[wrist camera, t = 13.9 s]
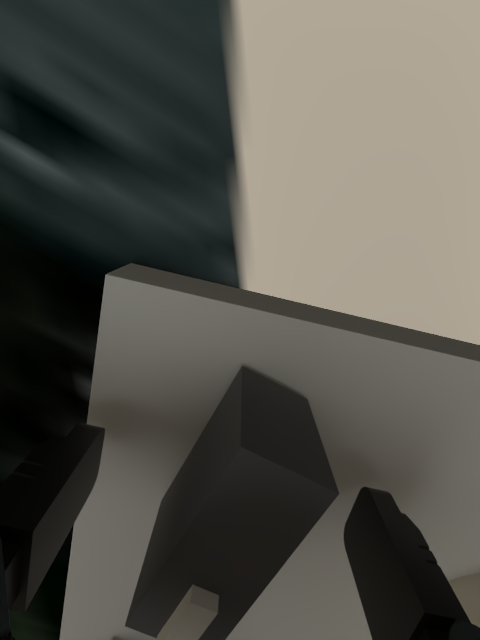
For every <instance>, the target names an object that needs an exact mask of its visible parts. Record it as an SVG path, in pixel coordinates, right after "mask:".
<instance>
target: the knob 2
mask: <svg viewBox="0 0 480 640" xmlns="http://www.w3.org/2000/svg"><path fill="white" fill-rule="evenodd" d="M338 495H339V491H338V488H337V485H336V482H335V479H334V476H333V473H332V470H331V467H330V464H329V461H328V458H327V455H326V452H325V449H324V446H323V444H322V441H321V438H320V435H319V432H318V429H317V426H316V423H315V420H314V417H313V414H312V411H311V408H310V405H309V402H308V399H307V398H305V397H303V396H301V395H299V394H297V393H295V392H293V391H291V390H289V389H287V388H285V387H283V386H281V385H279V384H277V383H275V382H273V381H271V380H269V379H267V378H265V377H263V376H262V375H260V374H258V373H256V372H254V371H252V370H250V369H248V368H246V367H244V366H242V367H241V368H240V370H239V372H238V373H237V375H236V377H235V378H234V380H233V382H232V383H231V385H230V387H229V388H228V390H227V392H226V393H225V395H224V397H223V398H222V400H221V402H220V403H219V405H218V407H217V408H216V410H215V412H214V413H213V415H212V417H211V418H210V420H209V422H208V423H207V425H206V427H205V428H204V430H203V432H202V433H201V435H200V437H199V438H198V440H197V442H196V443H195V445H194V447H193V448H192V450H191V452H190V453H189V455H188V457H187V458H186V460H185V462H184V463H183V465H182V467H181V468H180V470H179V472H178V473H177V475H176V477H175V478H174V480H173V482H172V483H171V485H170V487H169V489H168V490H167V492H166V494H165V495H164V497H163V499H162V500H161V503H160V507H159V510H158V514H157V517H156V520H155V524H154V527H153V531H152V534H151V538H150V541H149V544H148V548H147V551H146V555H145V558H144V562H143V565H142V568H141V572H140V575H139V579H138V582H137V585H136V589H135V592H134V596H133V599H132V603H131V606H130V609H129V613H128V616H127V620H126V623H125V627H128V628H131V629H133V630H136V631H139V632H141V633H144V634H146V635H149V636H152V637H154V638H157V640H226V638H227V637H228V636H229V634H230V633H231V632H232V631H233V629H234V628H235V627H236V625H237V624H238V623H239V622H240V620H241V619H242V618H243V617H244V615H245V614H246V613H247V611H248V610H249V609H250V608H251V606H252V605H253V604H254V602H255V601H256V600H257V599H258V597H259V596H260V595H261V593H262V592H263V591H264V590H265V588H266V587H267V586H268V584H269V583H270V582H271V581H272V579H273V578H274V577H275V576H276V574H277V573H278V572H279V570H280V569H281V568H282V567H283V565H284V564H285V563H286V561H287V560H288V559H289V558H290V556H291V555H292V554H293V552H294V551H295V550H296V549H297V547H298V546H299V545H300V544H301V542H302V541H303V540H304V538H305V537H306V536H307V535H308V533H309V532H310V531H311V529H312V528H313V527H314V526H315V524H316V523H317V522H318V520H319V519H320V518H321V517H322V515H323V514H324V513H325V512H326V510H327V509H328V508H329V506H330V505H331V504H332V503H333V501H334V500H335V499H336V497H337V496H338Z"/></svg>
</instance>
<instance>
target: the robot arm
mask: <svg viewBox="0 0 480 640" xmlns="http://www.w3.org/2000/svg"><path fill="white" fill-rule="evenodd" d="M104 436H105V428H102V427H98V426H93V425H89V424H84V423H78V424H77V425H76V426H75V427H74V428H73V429H72V431H71V432H70V433H69V435H68V436H67V437H66V438H61V437H56V436H53V437H52V438H50V439H48V440H46V441H44V442H43V443H41V444H39V445H37V446H36V447H35V448H34V449H33V450H32V451H31V453H30V454H29V455H28V456H27V457H26V458H25V459H24V462H23V463H21V464H20V465H19V466H18V467H17V468H16V469H15V470H14V472H13V474H11V475H10V476H9V477H8V478H7V479H6V480H5V482H4V483H3V484H2V485H1V486H0V640H15V638H14V637H12V636H11V630H10V621H9V610H10V609H11V610H16V611H22V612H25V611H26V609H27V608H28V606H29V604H30V602H31V600H32V598H33V597H34V595H35V593H36V591H37V589H38V588H39V586H40V584H41V582H42V580H43V579H44V577H45V575H46V573H47V571H48V569H49V568H50V566H51V564H52V562H53V560H54V559H55V557H56V555H57V553H58V551H59V550H60V548H61V546H62V544H63V542H64V541H65V539H66V537H67V535H68V533H69V531H70V530H71V528H72V526H73V524H74V522H75V521H76V519H77V517H78V515H79V513H80V512H81V510H82V508H83V506H84V504H85V503H86V501H87V499H88V497H89V495H90V493H91V491H92V489H93V487H94V485H95V482H96V479H97V476H98V472H99V467H100V461H101V454H102V448H103V442H104ZM344 546H345V550H346V553H347V557H348V560H349V563H350V567H351V570H352V573H353V577H354V580H355V583H356V587H357V590H358V593H359V597H360V600H361V603H362V607H363V610H364V613H365V617H366V620H367V623H368V627H369V630H370V634H371V637H372V640H480V627H478V626H476V625H474V624H472V623H471V622H470V620H469V618H468V616H467V614H466V613H465V611H464V609H463V607H462V605H461V604H460V602H459V600H458V598H457V596H456V594H455V593H454V591H453V589H452V587H451V585H450V584H449V582H448V580H447V578H446V576H445V575H444V573H443V571H442V569H441V567H440V566H438V565H437V560H436V558H435V556H434V555H433V553H432V551H430V550H429V546H428V544H427V542H426V540H425V538H424V537H423V535H422V533H421V531H420V530H419V528H418V527H417V526H416V525H415V524H414V523H413V522H412V521H411V520H410V519H409V517H408V516H407V515H406V514H404V513H401V512H400V510H399V508H398V506H397V504H396V502H395V500H394V498H393V497H392V495H391V494H390V493H389V492H387V491H383V490H378V489H374V488H369V487H362V488H361V489H360V491H359V493H358V496H357V498H356V500H355V503H354V505H353V507H352V509H351V512H350V514H349V516H348V519H347V521H346V524H345V527H344Z"/></svg>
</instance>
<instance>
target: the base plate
mask: <svg viewBox="0 0 480 640" xmlns="http://www.w3.org/2000/svg"><path fill="white" fill-rule="evenodd" d="M242 366H244V367H246V368H248V369H250V370H252V371H254V372H256V373H258V374H260V375H262V376H263V377H265V378H267V379H269V380H271V381H273V382H275V383H277V384H279V385H281V386H283V387H285V388H287V389H289V390H291V391H293V392H295V393H297V394H299V395H301V396H303V397H305V398H307V399H308V402H309V405H310V408H311V411H312V414H313V417H314V420H315V423H316V426H317V429H318V432H319V435H320V438H321V441H322V444H323V446H324V449H325V452H326V455H327V458H328V461H329V464H330V467H331V470H332V473H333V476H334V479H335V482H336V485H337V488H338V491H339V495H338V496H337V497H336V499H335V500H334V501H333V503H332V504H331V505H330V506H329V508H328V509H327V510H326V512H325V513H324V514H323V515H322V517H321V518H320V519H319V520H318V522H317V523H316V524H315V526H314V527H313V528H312V529H311V531H310V532H309V533H308V535H307V536H306V537H305V538H304V540H303V541H302V542H301V544H300V545H299V546H298V547H297V549H296V550H295V551H294V552H293V554H292V555H291V556H290V558H289V559H288V560H287V561H286V563H285V564H284V565H283V567H282V568H281V569H280V570H279V572H278V573H277V574H276V576H275V577H274V578H273V579H272V581H271V582H270V583H269V584H268V586H267V587H266V588H265V590H264V591H263V592H262V593H261V595H260V596H259V597H258V599H257V600H256V601H255V602H254V604H253V605H252V606H251V608H250V609H249V610H248V611H247V613H246V614H245V615H244V617H243V618H242V619H241V620H240V622H239V623H238V624H237V625H236V627H235V628H234V629H233V631H232V632H231V633H230V634H229V636H228V637H227V638H226V640H372V637H371V634H370V630H369V627H368V623H367V620H366V617H365V613H364V610H363V607H362V603H361V600H360V597H359V593H358V590H357V587H356V583H355V580H354V577H353V573H352V570H351V567H350V563H349V560H348V557H347V553H346V550H345V546H344V527H345V524H346V521H347V519H348V516H349V514H350V512H351V509H352V507H353V505H354V503H355V500H356V498H357V496H358V493H359V491H360V489H361V488H362V487H369V488H374V489H378V490H383V491H387V492H389V493H390V494H391V495H392V497H393V498H394V500H395V502H396V504H397V506H398V508H399V510H400V512H401V513H404V514H406V515H407V516H408V517H409V519H410V520H411V521H412V522H413V523H414V524H415V525H416V526H417V527H418V528H419V530H420V531H421V533H422V535H423V537H424V538H425V540H426V542H427V544H428V546H429V550H430V551H432V553H433V555H434V556H435V558H436V560H437V565H438V566H440V567H441V569H442V571H443V573H444V575H445V576H446V578H447V580H448V582H449V584H450V585H451V587H452V589H453V591H454V593H455V594H456V596H457V598H458V600H459V602H460V604H461V605H462V607H463V609H464V611H465V613H466V614H467V616H468V618H469V620H470V622H471V623H472V624H474V625H476V626H478V627H480V345H476V344H472V343H467V342H463V341H459V340H455V339H451V338H446V337H442V336H438V335H434V334H429V333H425V332H421V331H417V330H413V329H408V328H404V327H399V326H396V325H391V324H387V323H383V322H379V321H374V320H370V319H366V318H361V317H357V316H353V315H349V314H345V313H341V312H336V311H332V310H328V309H323V308H319V307H315V306H311V305H307V304H302V303H298V302H294V301H289V300H285V299H281V298H277V297H273V296H268V295H264V294H260V293H256V292H252V291H247V290H243V289H239V288H235V287H230V286H226V285H222V284H218V283H213V282H209V281H205V280H201V279H196V278H192V277H188V276H184V275H179V274H175V273H171V272H167V271H163V270H158V269H154V268H150V267H146V266H141V265H137V264H133V263H131V264H128V265H126V266H124V267H121V268H119V269H117V270H115V271H112V272H110V273H108V274H106V275H105V283H104V291H103V299H102V307H101V315H100V323H99V331H98V339H97V346H96V354H95V362H94V370H93V378H92V386H91V394H90V402H89V410H88V418H87V424H89V425H93V426H98V427H102V428H105V436H104V442H103V448H102V454H101V461H100V467H99V472H98V476H97V479H96V482H95V485H94V487H93V489H92V491H91V493H90V495H89V497H88V499H87V501H86V503H85V504H84V506H83V508H82V510H81V512H80V513H79V515H78V517H77V519H76V521H75V522H74V529H73V537H72V545H71V553H70V561H69V569H68V577H67V585H66V593H65V601H64V609H63V616H62V624H61V632H60V640H157V638H154V637H152V636H149V635H146V634H144V633H141V632H139V631H136V630H133V629H131V628H128V627H125V623H126V620H127V616H128V613H129V609H130V606H131V603H132V599H133V596H134V592H135V589H136V585H137V582H138V579H139V575H140V572H141V568H142V565H143V562H144V558H145V555H146V551H147V548H148V544H149V541H150V538H151V534H152V531H153V527H154V524H155V520H156V517H157V514H158V510H159V507H160V503H161V500H162V499H163V497H164V495H165V494H166V492H167V490H168V489H169V487H170V485H171V483H172V482H173V480H174V478H175V477H176V475H177V473H178V472H179V470H180V468H181V467H182V465H183V463H184V462H185V460H186V458H187V457H188V455H189V453H190V452H191V450H192V448H193V447H194V445H195V443H196V442H197V440H198V438H199V437H200V435H201V433H202V432H203V430H204V428H205V427H206V425H207V423H208V422H209V420H210V418H211V417H212V415H213V413H214V412H215V410H216V408H217V407H218V405H219V403H220V402H221V400H222V398H223V397H224V395H225V393H226V392H227V390H228V388H229V387H230V385H231V383H232V382H233V380H234V378H235V377H236V375H237V373H238V372H239V370H240V368H241V367H242Z"/></svg>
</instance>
